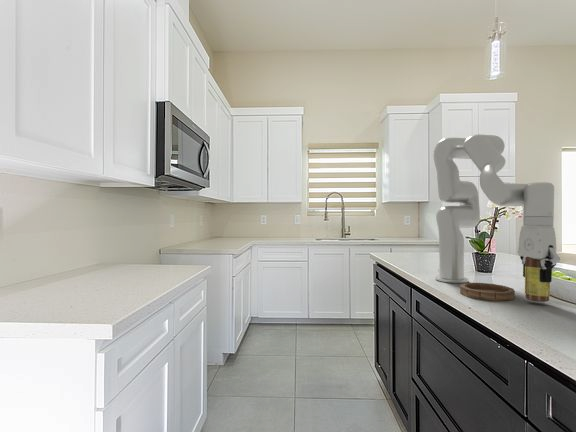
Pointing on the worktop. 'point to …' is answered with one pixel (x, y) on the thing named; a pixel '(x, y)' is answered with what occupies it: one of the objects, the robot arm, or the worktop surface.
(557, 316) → the worktop surface
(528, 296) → the sauce bottle
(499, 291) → the walnut bowl
